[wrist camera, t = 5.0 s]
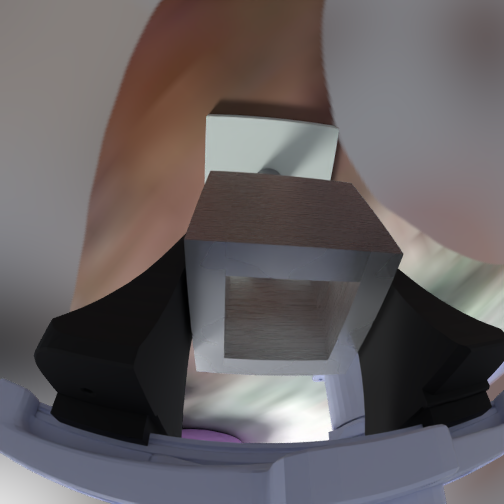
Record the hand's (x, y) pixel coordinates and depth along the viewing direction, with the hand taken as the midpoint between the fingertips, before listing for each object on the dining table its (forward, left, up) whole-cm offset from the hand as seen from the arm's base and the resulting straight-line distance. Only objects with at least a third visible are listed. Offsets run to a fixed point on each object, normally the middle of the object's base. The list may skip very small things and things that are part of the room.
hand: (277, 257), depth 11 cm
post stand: (0, 0, -9) cm, 9 cm away
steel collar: (0, 0, -1) cm, 1 cm away
